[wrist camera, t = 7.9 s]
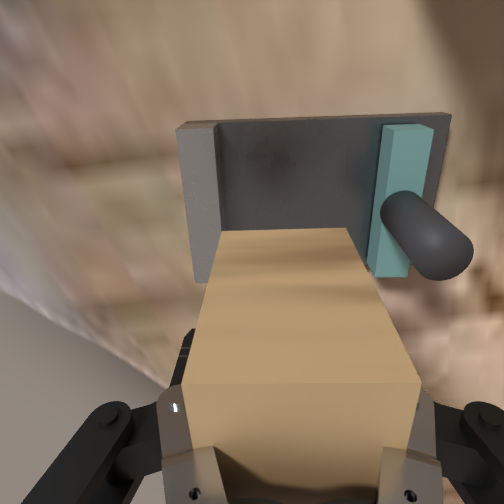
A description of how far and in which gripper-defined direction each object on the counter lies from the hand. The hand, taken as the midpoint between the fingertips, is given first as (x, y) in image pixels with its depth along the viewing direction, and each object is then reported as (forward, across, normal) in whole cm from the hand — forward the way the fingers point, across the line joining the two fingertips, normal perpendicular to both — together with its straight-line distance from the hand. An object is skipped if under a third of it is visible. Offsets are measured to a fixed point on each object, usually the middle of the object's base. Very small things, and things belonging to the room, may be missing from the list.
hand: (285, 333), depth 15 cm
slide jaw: (+16, -9, 0) cm, 18 cm away
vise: (+17, -3, 0) cm, 18 cm away
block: (+2, 0, 0) cm, 2 cm away
